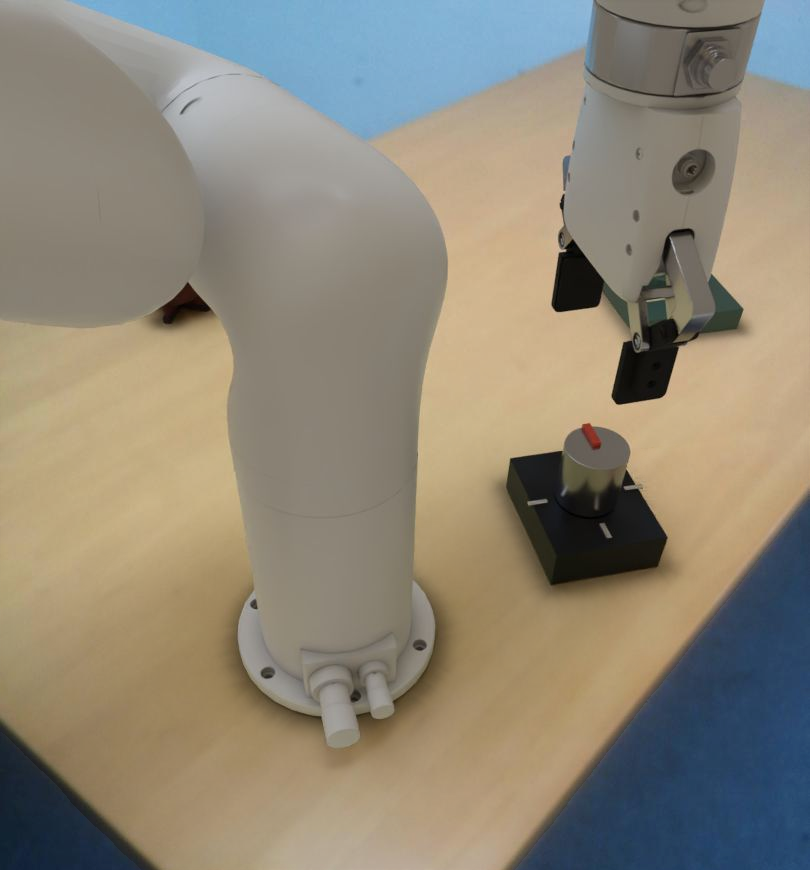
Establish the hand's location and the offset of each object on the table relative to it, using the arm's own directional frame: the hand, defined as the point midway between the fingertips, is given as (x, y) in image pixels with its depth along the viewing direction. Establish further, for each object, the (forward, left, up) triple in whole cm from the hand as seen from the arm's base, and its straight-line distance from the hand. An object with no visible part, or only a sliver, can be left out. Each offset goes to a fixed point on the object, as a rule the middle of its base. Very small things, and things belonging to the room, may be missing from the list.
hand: (604, 350), depth 54 cm
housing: (+26, -19, -15) cm, 36 cm away
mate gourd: (+35, +27, -15) cm, 46 cm away
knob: (-1, 0, -12) cm, 12 cm away
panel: (-1, 0, -15) cm, 15 cm away
